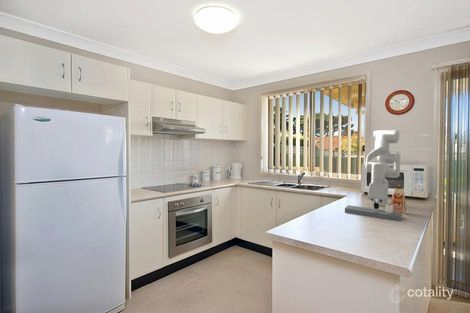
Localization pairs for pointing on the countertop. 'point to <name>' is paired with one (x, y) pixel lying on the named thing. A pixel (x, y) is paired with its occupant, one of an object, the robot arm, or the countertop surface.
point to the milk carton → (399, 200)
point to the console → (373, 212)
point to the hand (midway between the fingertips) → (376, 209)
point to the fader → (389, 208)
